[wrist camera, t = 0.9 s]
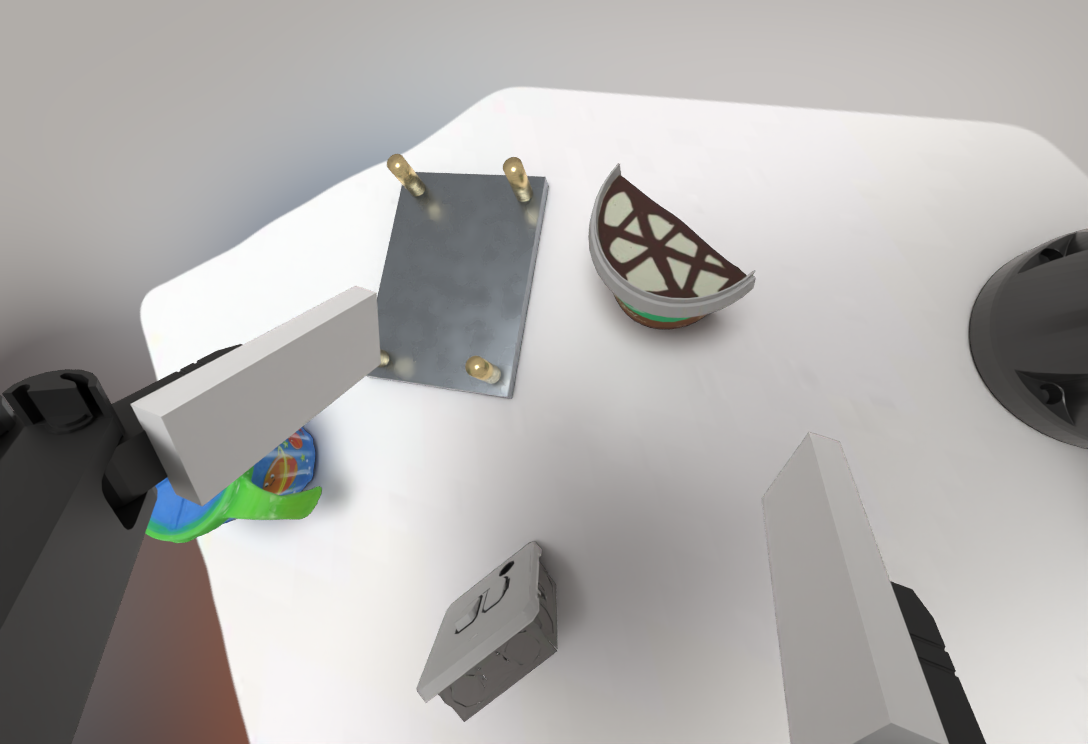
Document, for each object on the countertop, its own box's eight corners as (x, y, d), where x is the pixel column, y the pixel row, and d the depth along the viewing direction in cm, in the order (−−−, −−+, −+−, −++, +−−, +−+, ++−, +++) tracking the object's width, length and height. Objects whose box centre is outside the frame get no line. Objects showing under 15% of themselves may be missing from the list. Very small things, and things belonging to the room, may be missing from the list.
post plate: (548, 186, 40) (536, 147, 35) (511, 398, 38) (492, 391, 32) (412, 180, 43) (382, 144, 38) (369, 377, 41) (330, 367, 35)
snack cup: (201, 464, 43) (73, 470, 33) (258, 372, 43) (149, 351, 33) (313, 557, 39) (206, 596, 29) (375, 455, 39) (290, 460, 30)
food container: (567, 279, 39) (547, 224, 29) (617, 229, 38) (612, 158, 29) (672, 375, 36) (688, 349, 26) (726, 322, 35) (762, 276, 26)
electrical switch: (536, 536, 36) (513, 580, 26) (575, 589, 35) (565, 654, 26) (449, 604, 36) (396, 671, 27) (485, 658, 35) (444, 746, 26)
